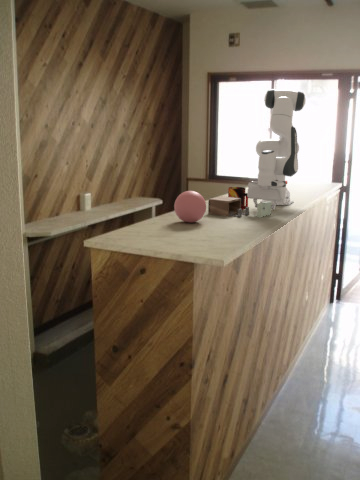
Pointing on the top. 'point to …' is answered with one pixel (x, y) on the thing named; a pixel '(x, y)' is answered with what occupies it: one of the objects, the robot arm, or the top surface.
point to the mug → (239, 195)
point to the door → (264, 209)
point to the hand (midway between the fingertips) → (265, 208)
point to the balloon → (190, 206)
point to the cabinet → (226, 206)
